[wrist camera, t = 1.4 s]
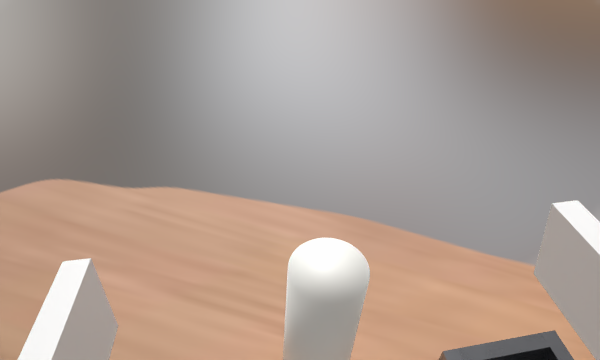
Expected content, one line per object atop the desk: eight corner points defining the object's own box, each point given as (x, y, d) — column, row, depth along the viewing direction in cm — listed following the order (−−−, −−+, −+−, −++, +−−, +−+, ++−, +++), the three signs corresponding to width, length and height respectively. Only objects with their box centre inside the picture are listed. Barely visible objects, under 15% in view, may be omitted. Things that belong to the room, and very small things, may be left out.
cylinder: (287, 431, 31) (297, 310, 22) (276, 372, 34) (281, 243, 25) (346, 418, 32) (381, 297, 23) (331, 362, 35) (356, 233, 26)
